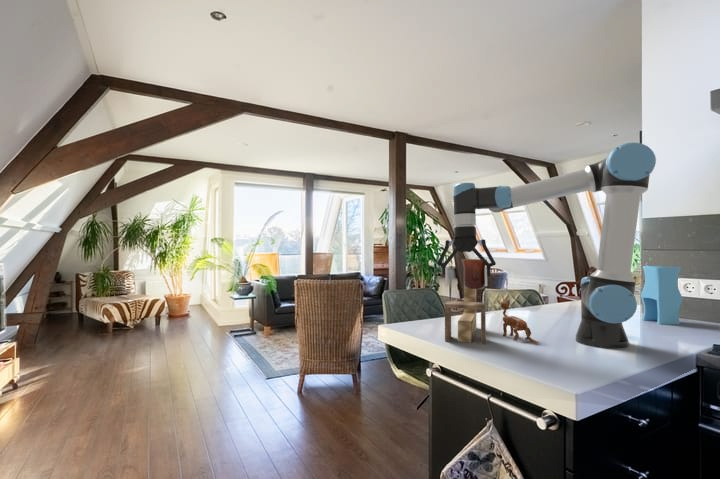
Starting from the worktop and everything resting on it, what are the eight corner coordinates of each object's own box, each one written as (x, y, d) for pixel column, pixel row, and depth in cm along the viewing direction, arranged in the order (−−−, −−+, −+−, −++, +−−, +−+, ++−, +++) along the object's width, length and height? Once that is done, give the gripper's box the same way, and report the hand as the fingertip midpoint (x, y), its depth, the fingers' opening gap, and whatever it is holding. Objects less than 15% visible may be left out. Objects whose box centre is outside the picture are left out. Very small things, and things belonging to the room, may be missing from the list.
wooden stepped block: (476, 327, 151) (476, 279, 151) (471, 342, 127) (470, 285, 128) (465, 327, 152) (464, 279, 153) (457, 341, 129) (457, 285, 130)
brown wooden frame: (485, 339, 132) (485, 302, 132) (484, 344, 124) (484, 306, 124) (447, 336, 136) (447, 300, 137) (444, 341, 129) (444, 303, 129)
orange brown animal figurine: (546, 345, 124) (545, 305, 124) (530, 347, 121) (530, 306, 122) (508, 333, 141) (508, 298, 141) (494, 335, 138) (494, 299, 139)
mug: (461, 286, 136) (461, 259, 137) (485, 287, 134) (485, 259, 135) (462, 290, 125) (462, 260, 125) (489, 290, 123) (489, 260, 123)
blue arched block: (682, 326, 152) (681, 267, 153) (659, 326, 152) (658, 267, 153) (663, 322, 162) (662, 266, 163) (641, 321, 162) (640, 265, 163)
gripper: (501, 225, 130) (503, 285, 130) (432, 228, 139) (433, 283, 138) (502, 224, 123) (503, 287, 123) (428, 227, 132) (429, 285, 131)
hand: (466, 285), depth 130 cm, fingers open, 13 cm apart
